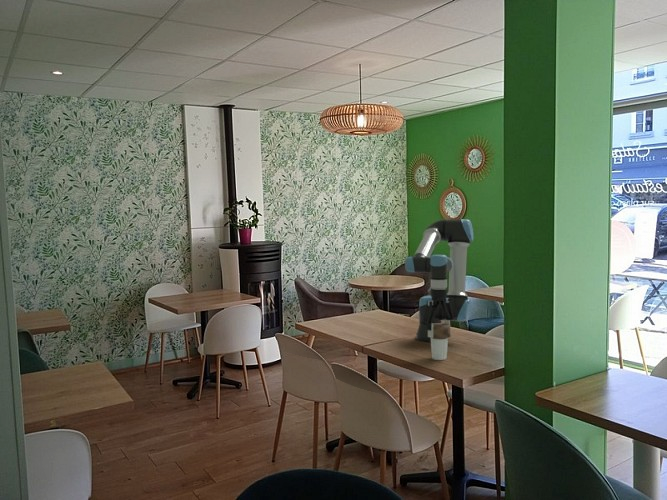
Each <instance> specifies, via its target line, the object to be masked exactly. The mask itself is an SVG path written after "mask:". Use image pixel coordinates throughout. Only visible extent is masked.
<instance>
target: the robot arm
mask: <svg viewBox="0 0 667 500" xmlns="http://www.w3.org/2000/svg"><path fill="white" fill-rule="evenodd" d="M422 234H423V235H422V240H421V241H420V243H419V245H418V247H417V249H416V251H415V253H414V254H413V256H408V257H407V256H406V258H405V261H404V263H405V264H404V268H405V271H406V272H408V273H414V274H415V273H427V274H428V273H429V274H430V295H424V296H422V297H420V298H419V302H418V303H419V304H418V308H419V309H418V313H419V314H418V317H419V318H418V319H419V320H418V321H419V325H418V328H417V331H416V334H415V335H416V336H415V337H416V340H418V341H421V342H430V343H431V338H433V323H442V321H444V323H445V324H449V325H450V327H451V326H452V324H451V322H466V321H468V319H469V317H470V314H471V310H472V309H471V308H472V300H471V299H469V296H468V294H467V292H466V280H467V279H466V278H467V273H466V272H467V258H468V257H467V256H468V255H467V253H468V247H469V246H470V245H471V242H473V241H474V229H473V224H472V222H471V220H470V219H466V218H465V219H463V218H456V219H455V218H454V219H453V218H452V219H448V218H447V219H438V220H436V221H434V222H433V223H431V224H430V225H428V226H427V227H426V228H425V229H424V231H423V233H422ZM440 242H447V245H448V246H449V248H450V249H449V257H448V256H447V254H446V255H445V254H433V251H434V249H435V247H436V245H437V244H439V243H440ZM432 254H433V255H432ZM448 272H449V275H448ZM430 337H431V338H430Z"/></svg>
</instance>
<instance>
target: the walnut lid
mask: <svg viewBox="0 0 667 500" xmlns="http://www.w3.org/2000/svg"><path fill="white" fill-rule="evenodd" d="M430 338H431V337H430ZM433 338H437V339H444V338H448V339H449V338H451V326H450V325H449V324H445V322H444V323H443V322H441V323H433Z"/></svg>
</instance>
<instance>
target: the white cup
mask: <svg viewBox="0 0 667 500" xmlns="http://www.w3.org/2000/svg"><path fill="white" fill-rule="evenodd" d="M448 340H449V338H444V339H437V338H431V342H430V349H431V352H430V353H431V359H432V360H436V361H444V360H447V358H448V357H447V356H448V355H447V354H448V343H449V342H448Z"/></svg>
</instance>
